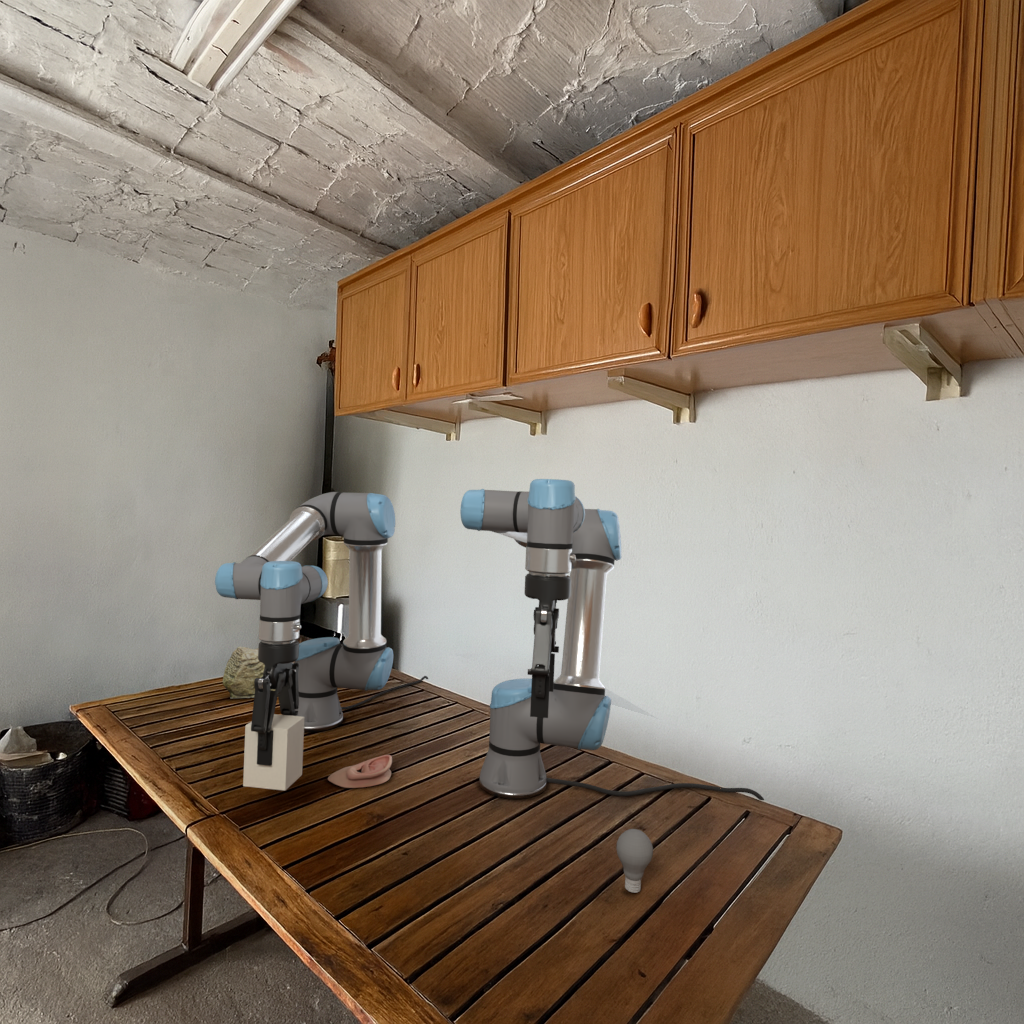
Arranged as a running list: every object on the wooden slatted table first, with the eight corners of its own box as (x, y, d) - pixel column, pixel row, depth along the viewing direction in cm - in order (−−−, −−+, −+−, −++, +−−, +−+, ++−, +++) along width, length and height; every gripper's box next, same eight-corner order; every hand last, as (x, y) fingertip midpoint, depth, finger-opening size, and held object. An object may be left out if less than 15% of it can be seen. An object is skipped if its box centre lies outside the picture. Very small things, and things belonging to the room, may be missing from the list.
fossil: (218, 695, 195) (220, 647, 195) (278, 685, 208) (279, 640, 207) (228, 703, 189) (230, 653, 188) (289, 692, 201) (290, 645, 201)
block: (242, 786, 122) (245, 725, 122) (262, 770, 129) (264, 713, 129) (285, 790, 121) (287, 729, 121) (302, 774, 128) (304, 716, 128)
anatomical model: (321, 766, 139) (345, 747, 150) (320, 784, 139) (344, 763, 150) (378, 774, 136) (398, 753, 147) (377, 792, 136) (397, 770, 148)
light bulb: (610, 879, 108) (613, 822, 108) (644, 879, 109) (647, 822, 109) (619, 902, 102) (622, 840, 102) (655, 901, 103) (658, 840, 103)
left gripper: (271, 653, 114) (266, 779, 114) (319, 631, 134) (314, 739, 134) (232, 650, 115) (227, 775, 115) (285, 629, 135) (281, 736, 135)
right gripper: (568, 584, 91) (561, 731, 91) (573, 567, 115) (568, 683, 116) (516, 581, 91) (510, 727, 92) (532, 565, 116) (527, 679, 117)
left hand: (274, 756), depth 125 cm, fingers closed on block, 7 cm apart
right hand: (542, 703), depth 104 cm, fingers open, 13 cm apart
